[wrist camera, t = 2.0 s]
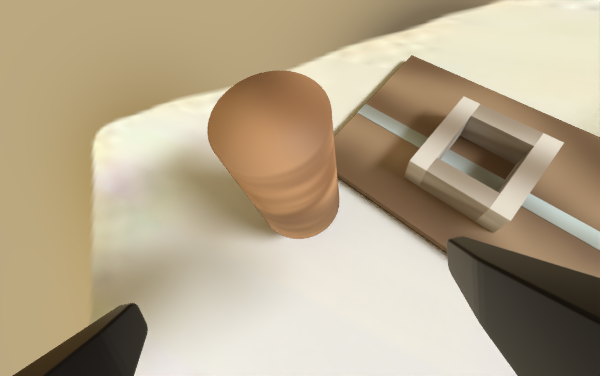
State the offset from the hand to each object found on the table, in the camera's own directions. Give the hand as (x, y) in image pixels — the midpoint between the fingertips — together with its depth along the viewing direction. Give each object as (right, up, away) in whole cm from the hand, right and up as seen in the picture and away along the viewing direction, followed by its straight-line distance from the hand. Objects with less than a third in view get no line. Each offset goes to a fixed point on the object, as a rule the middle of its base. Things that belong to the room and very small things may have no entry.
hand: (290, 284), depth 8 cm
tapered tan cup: (+1, +1, +16) cm, 16 cm away
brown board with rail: (+14, +4, +15) cm, 21 cm away
